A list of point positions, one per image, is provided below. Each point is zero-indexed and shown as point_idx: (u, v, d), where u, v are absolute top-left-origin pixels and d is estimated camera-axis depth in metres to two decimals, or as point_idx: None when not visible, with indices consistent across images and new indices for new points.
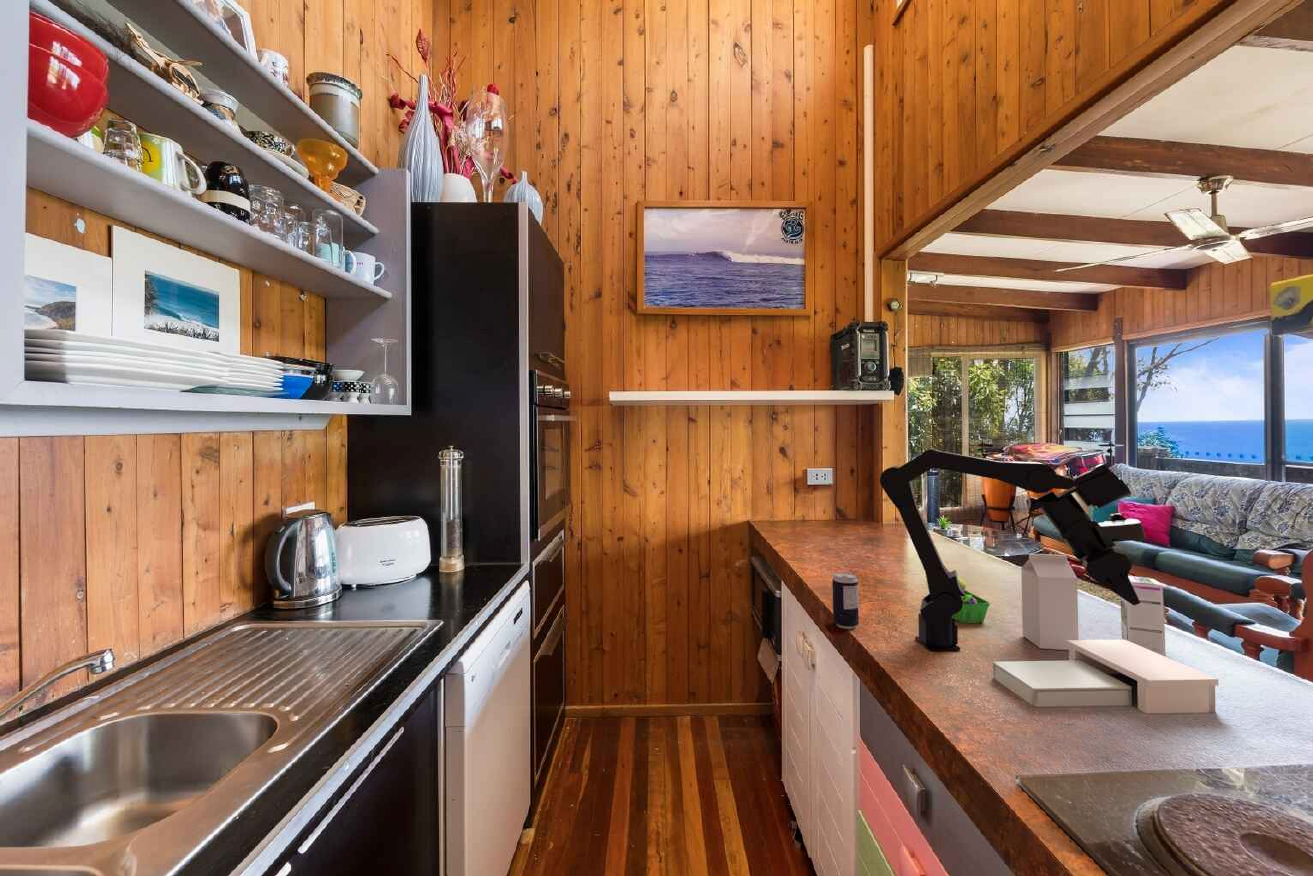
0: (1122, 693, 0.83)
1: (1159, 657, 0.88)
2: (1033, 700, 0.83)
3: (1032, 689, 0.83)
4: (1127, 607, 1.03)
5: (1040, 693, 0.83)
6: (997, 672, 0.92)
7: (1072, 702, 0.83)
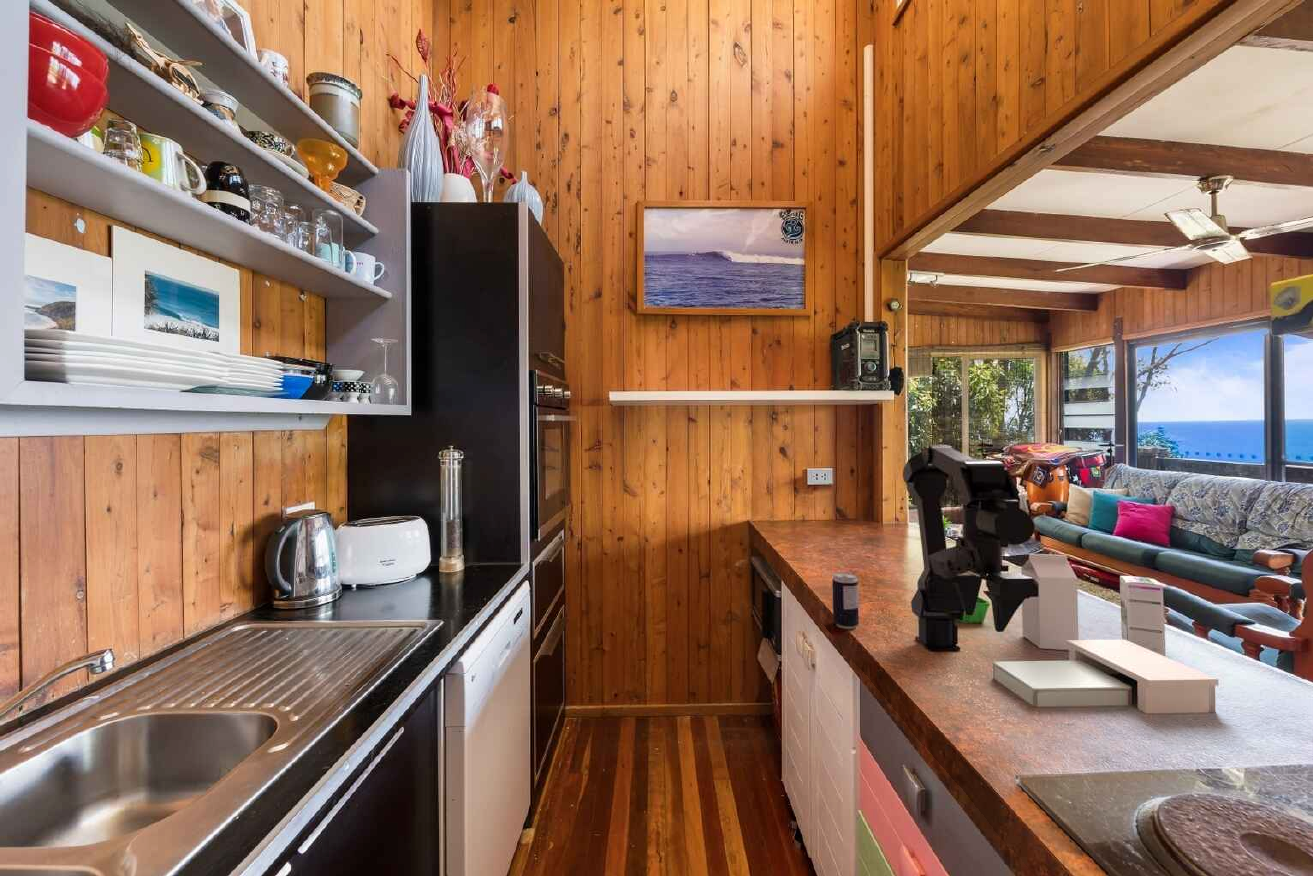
0: (1122, 693, 0.83)
1: (1159, 657, 0.88)
2: (1033, 700, 0.83)
3: (1032, 689, 0.83)
4: (1127, 607, 1.03)
5: (1040, 693, 0.83)
6: (997, 672, 0.92)
7: (1072, 702, 0.83)
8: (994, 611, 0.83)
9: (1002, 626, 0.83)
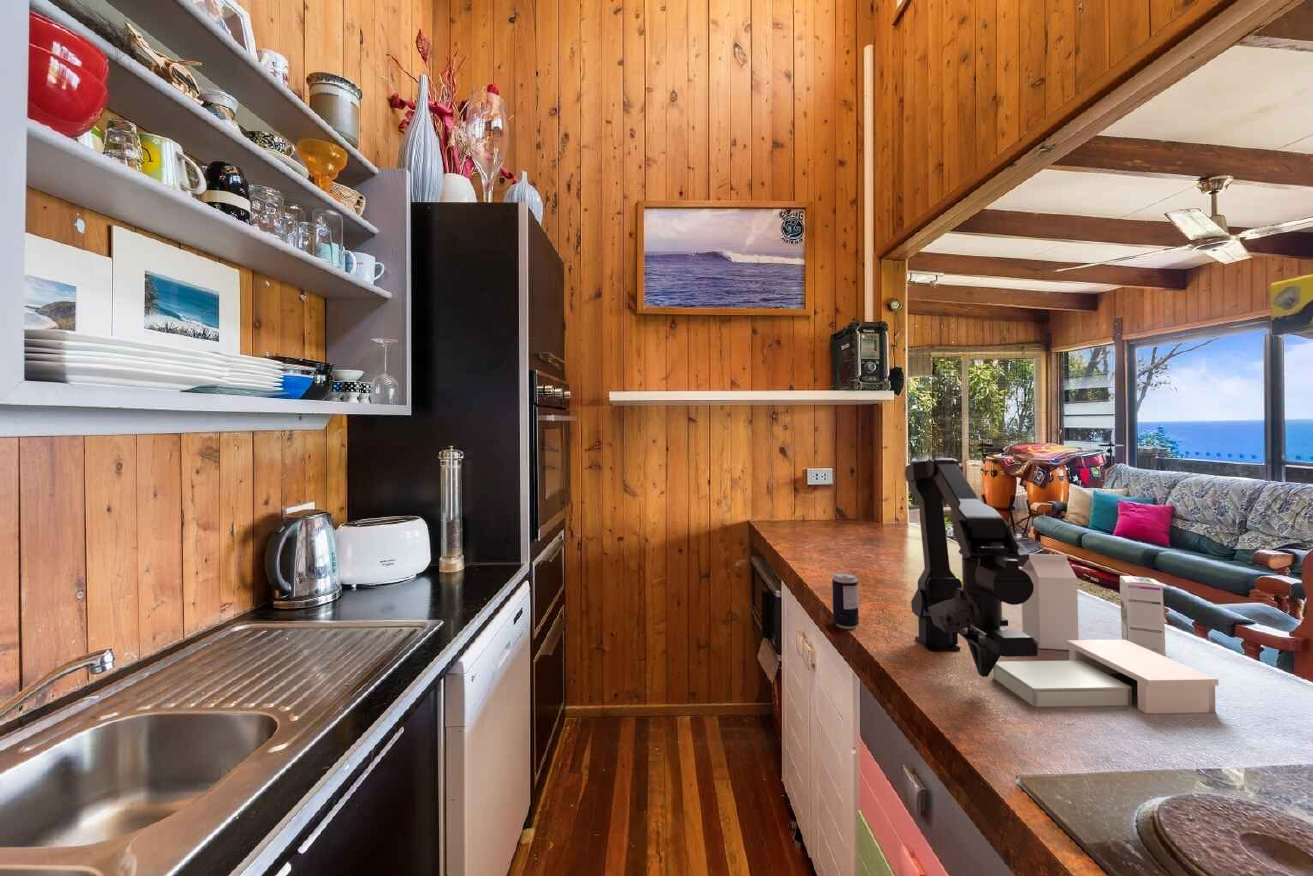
0: (1122, 693, 0.83)
1: (1159, 657, 0.88)
2: (1033, 700, 0.83)
3: (1032, 689, 0.83)
4: (1127, 607, 1.03)
5: (1040, 693, 0.83)
6: (997, 672, 0.92)
7: (1072, 702, 0.83)
8: (979, 657, 0.87)
9: (987, 671, 0.87)
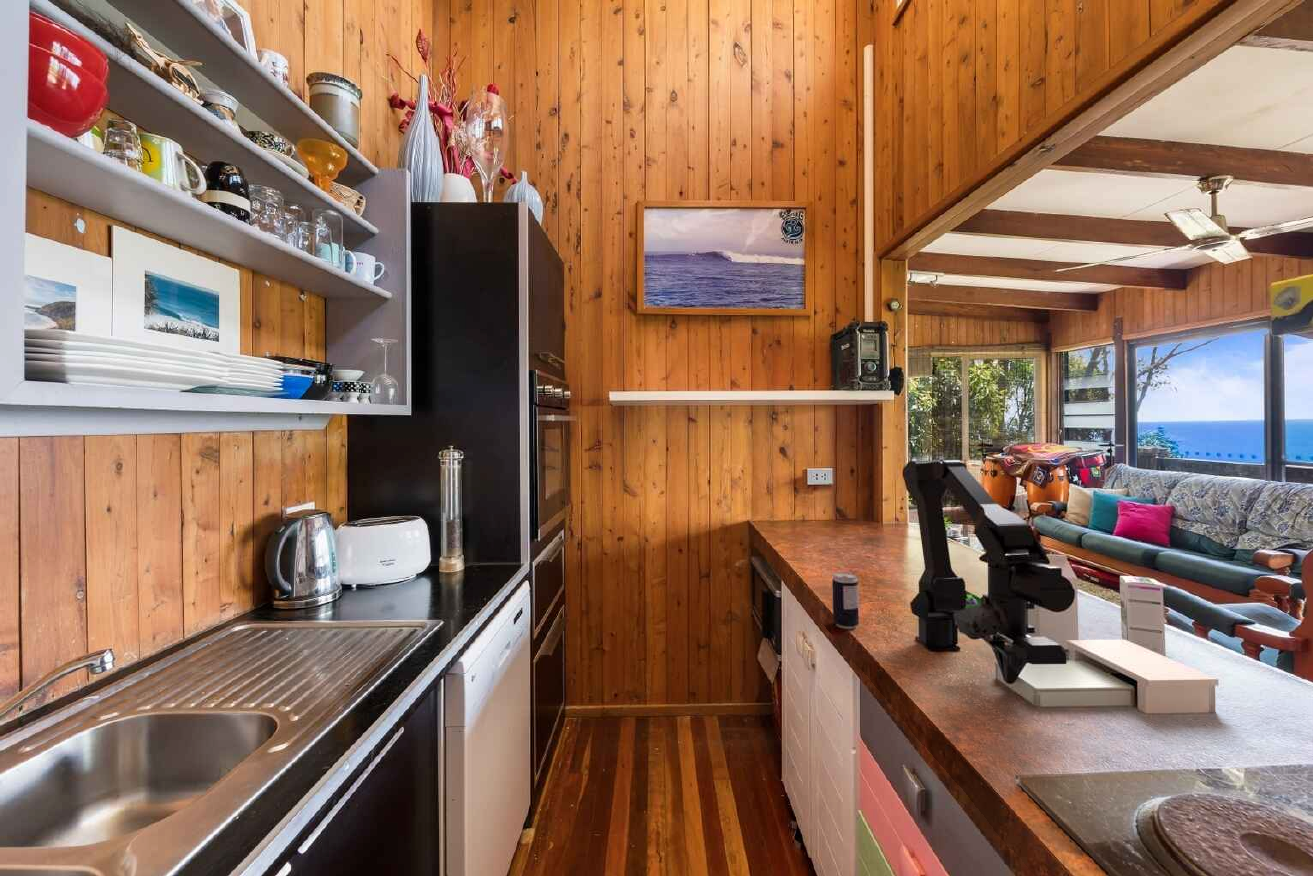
0: (1125, 693, 0.83)
1: (1159, 657, 0.88)
2: (1035, 700, 0.83)
3: (1035, 689, 0.83)
4: (1127, 607, 1.03)
5: (1043, 693, 0.83)
6: (999, 672, 0.92)
7: (1075, 702, 0.83)
8: (1004, 664, 0.87)
9: (1012, 678, 0.87)
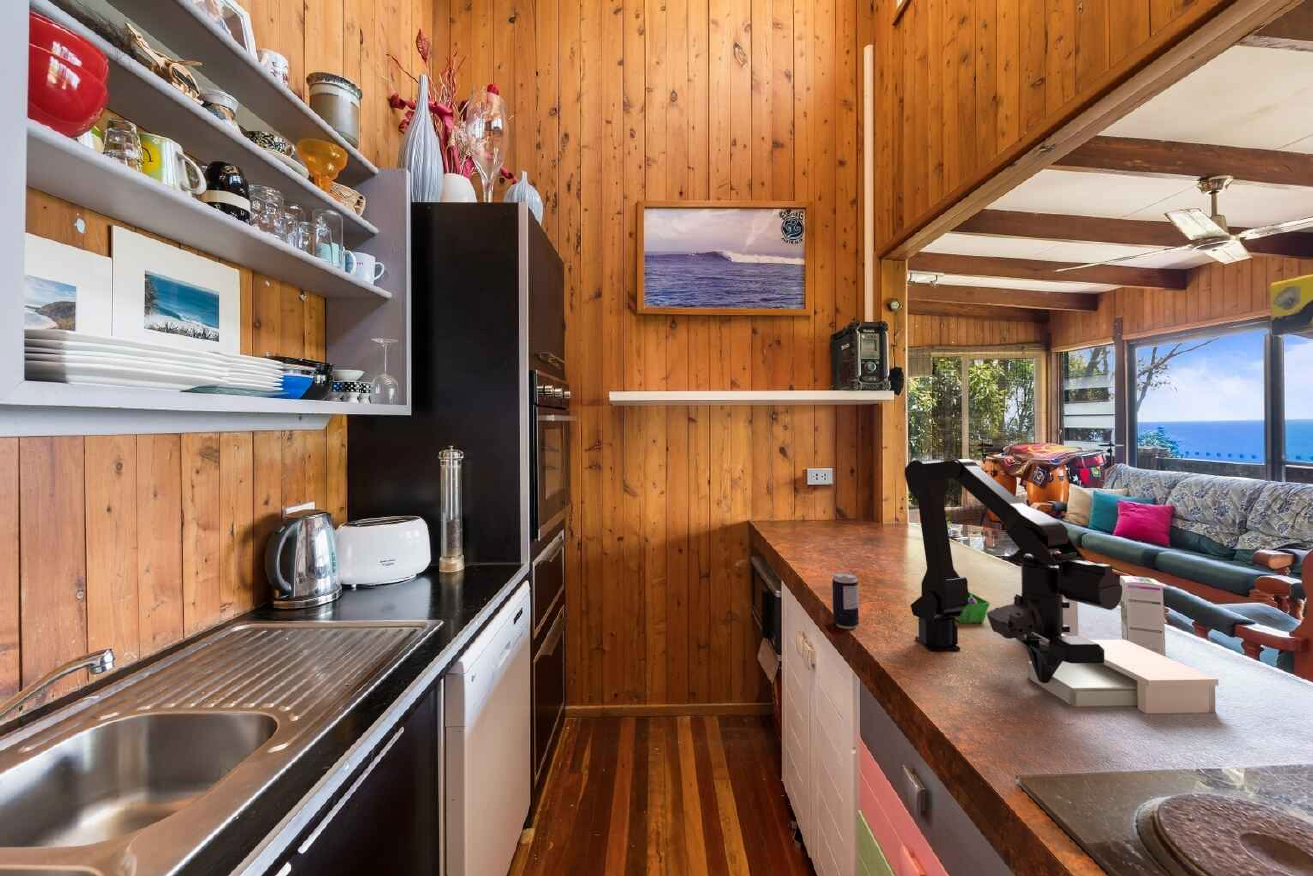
0: None
1: (1159, 657, 0.88)
2: (1071, 699, 0.83)
3: (1071, 689, 0.83)
4: (1127, 607, 1.03)
5: (1079, 692, 0.83)
6: (1032, 672, 0.92)
7: (1111, 702, 0.83)
8: (1039, 663, 0.87)
9: (1047, 677, 0.87)
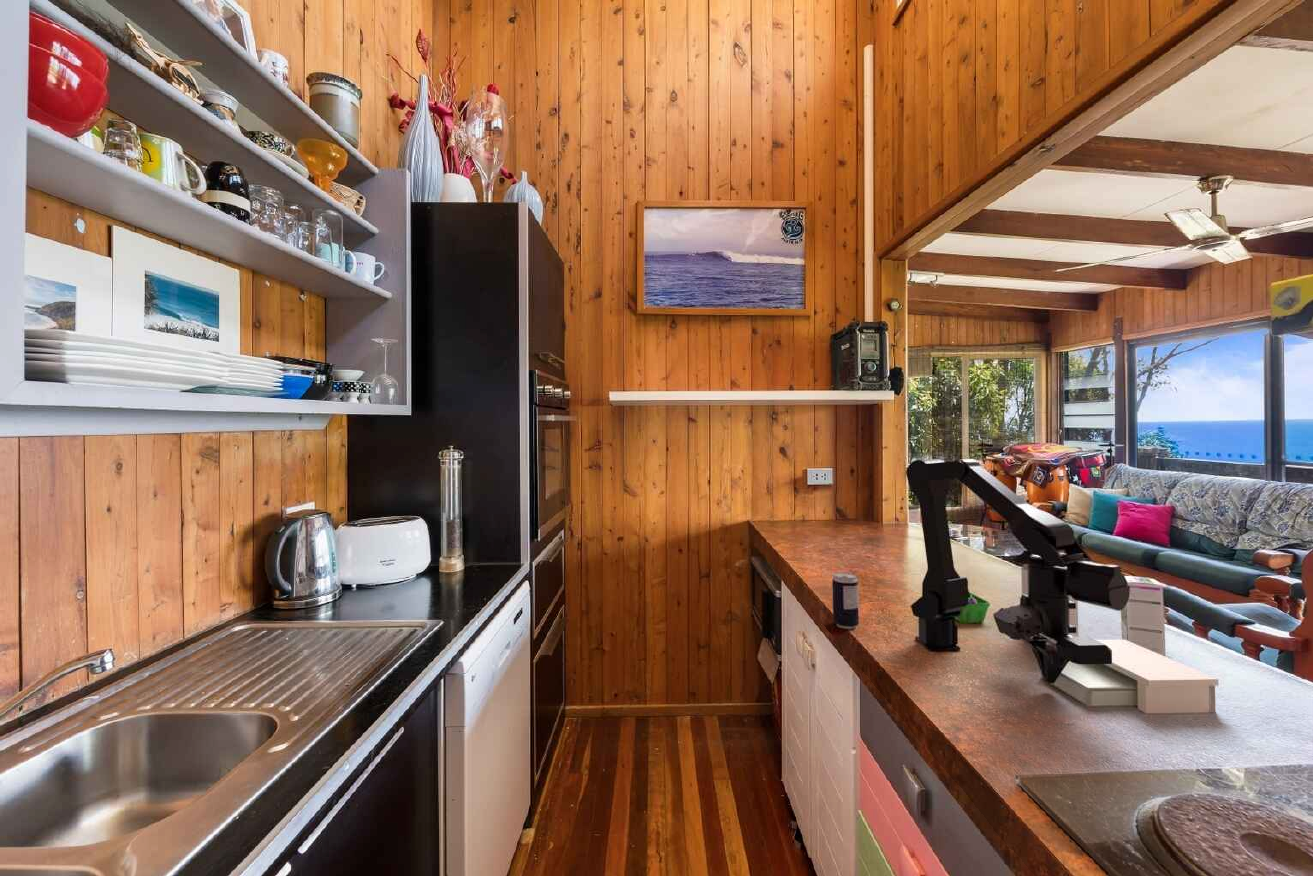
0: None
1: (1159, 657, 0.88)
2: (1087, 699, 0.83)
3: (1086, 688, 0.83)
4: (1127, 607, 1.03)
5: (1094, 692, 0.83)
6: None
7: (1126, 701, 0.83)
8: (1045, 664, 0.87)
9: (1053, 678, 0.87)
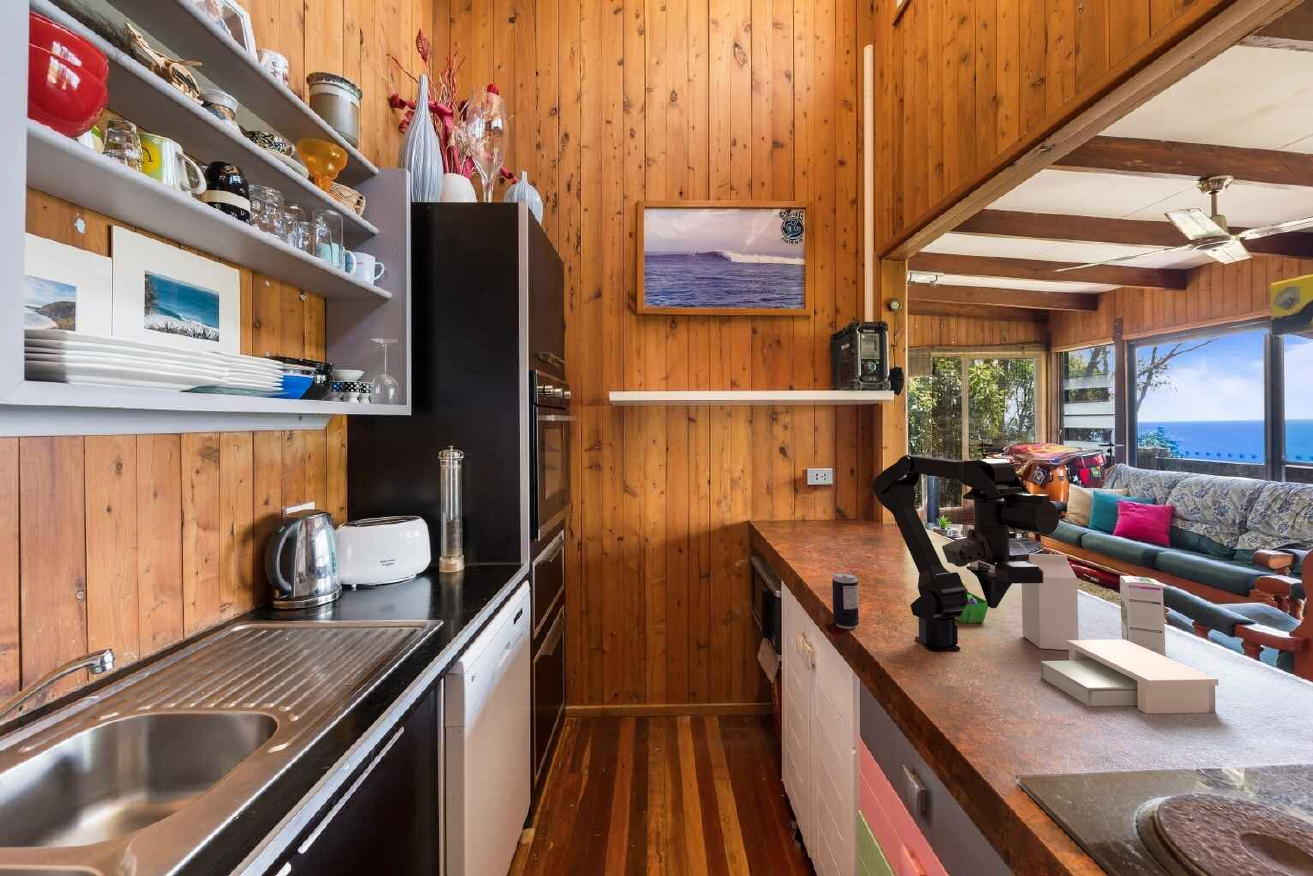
0: None
1: (1159, 657, 0.88)
2: (1087, 699, 0.83)
3: (1086, 688, 0.83)
4: (1127, 607, 1.03)
5: (1094, 692, 0.83)
6: (1046, 671, 0.92)
7: (1126, 701, 0.83)
8: (988, 590, 0.95)
9: (995, 603, 0.95)
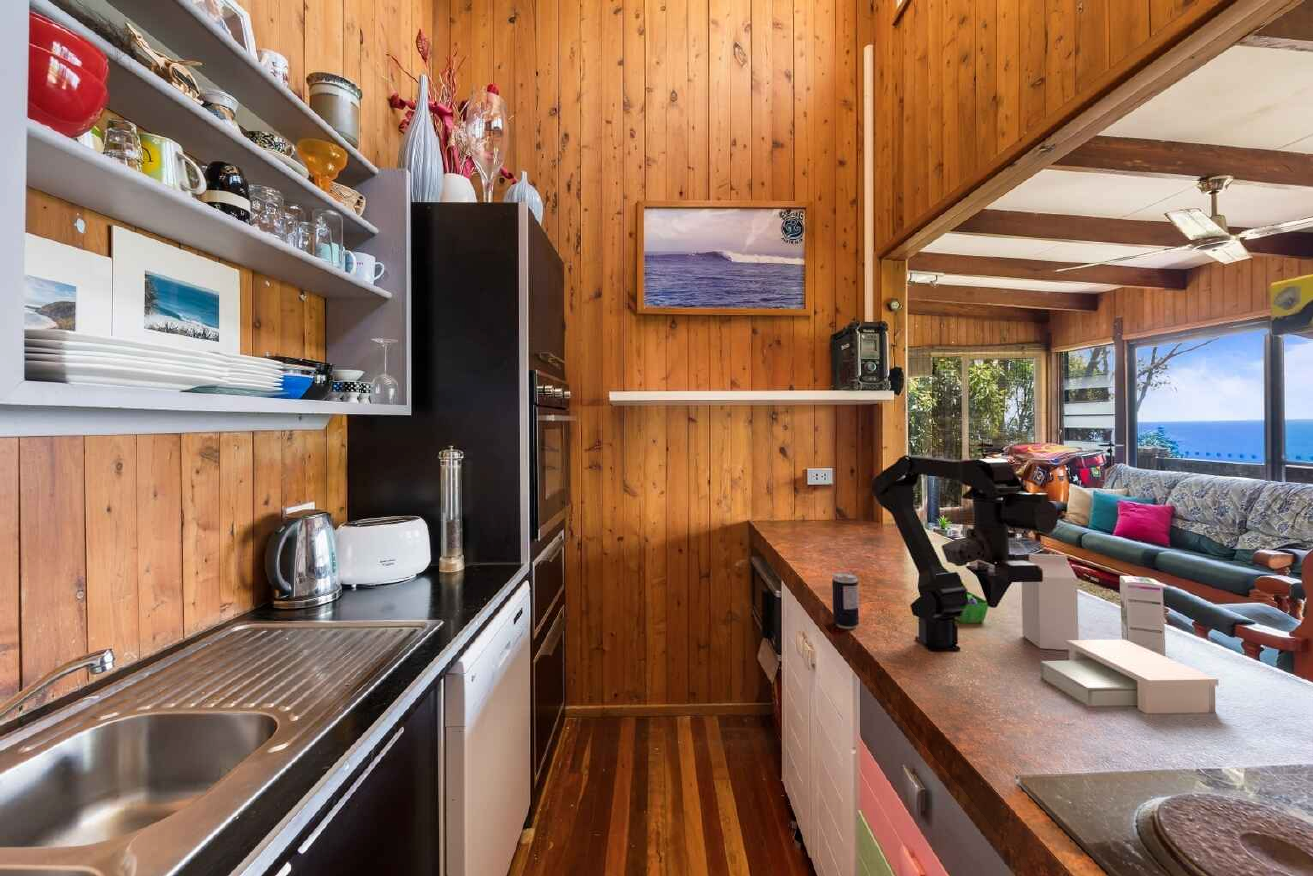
0: None
1: (1159, 657, 0.88)
2: (1087, 699, 0.83)
3: (1086, 688, 0.83)
4: (1127, 607, 1.03)
5: (1094, 692, 0.83)
6: (1046, 671, 0.92)
7: (1126, 701, 0.83)
8: (988, 589, 0.95)
9: (995, 602, 0.95)
